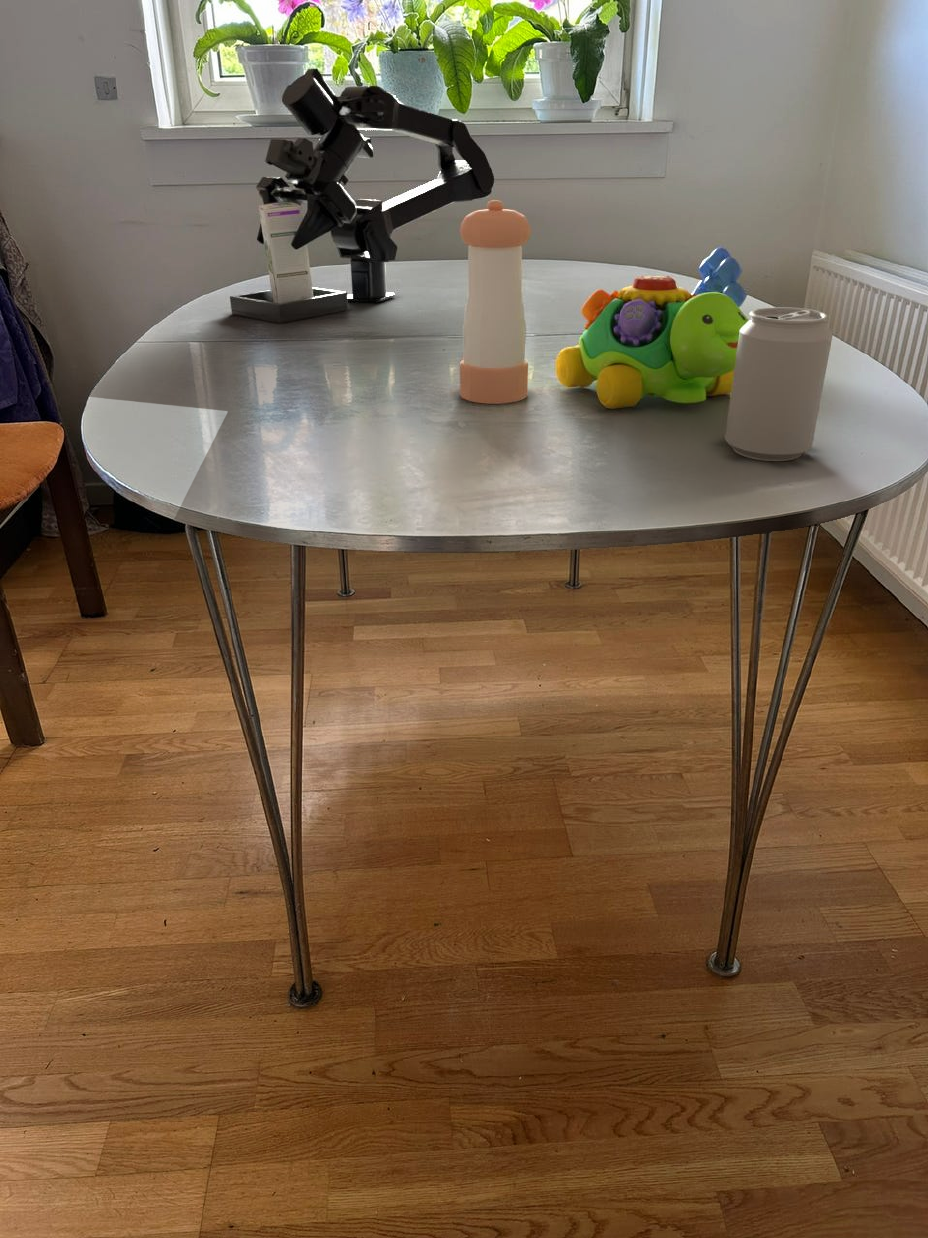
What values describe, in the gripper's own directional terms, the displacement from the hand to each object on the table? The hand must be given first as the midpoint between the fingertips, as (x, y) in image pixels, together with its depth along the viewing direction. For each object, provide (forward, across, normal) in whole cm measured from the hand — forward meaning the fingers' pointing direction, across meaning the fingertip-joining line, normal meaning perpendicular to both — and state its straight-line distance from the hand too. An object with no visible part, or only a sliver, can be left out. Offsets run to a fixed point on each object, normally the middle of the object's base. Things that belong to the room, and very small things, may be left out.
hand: (276, 244), depth 136 cm
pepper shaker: (+14, +56, 0) cm, 58 cm away
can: (+11, +87, +3) cm, 88 cm away
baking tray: (+6, 0, +8) cm, 10 cm away
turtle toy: (+6, +69, +8) cm, 70 cm away
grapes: (-11, +60, +25) cm, 66 cm away
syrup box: (+5, -1, +8) cm, 10 cm away
